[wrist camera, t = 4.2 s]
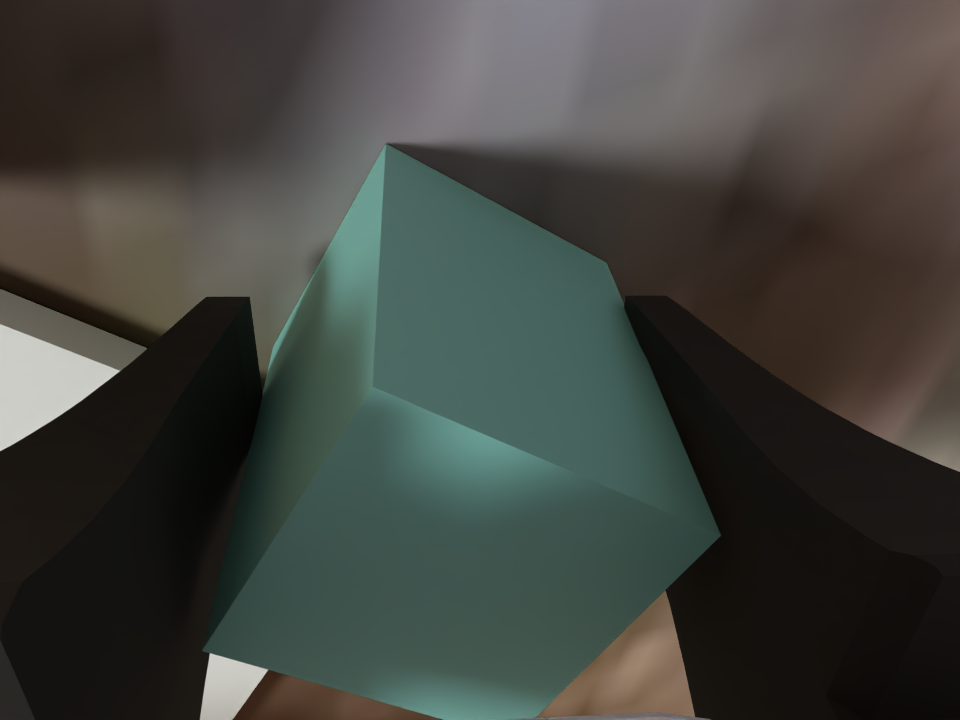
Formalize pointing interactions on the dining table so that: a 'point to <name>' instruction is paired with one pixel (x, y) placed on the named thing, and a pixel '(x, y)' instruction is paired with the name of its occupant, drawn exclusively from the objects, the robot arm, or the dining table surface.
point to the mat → (58, 387)
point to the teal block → (453, 465)
